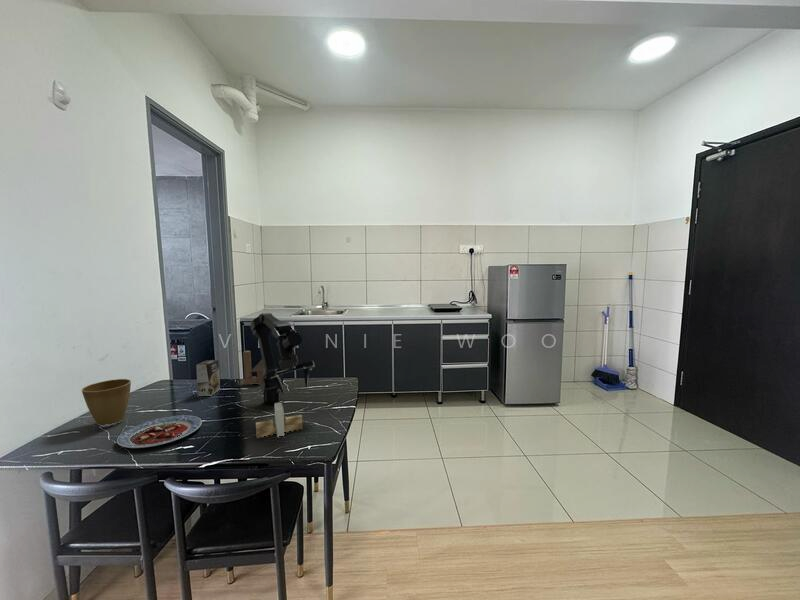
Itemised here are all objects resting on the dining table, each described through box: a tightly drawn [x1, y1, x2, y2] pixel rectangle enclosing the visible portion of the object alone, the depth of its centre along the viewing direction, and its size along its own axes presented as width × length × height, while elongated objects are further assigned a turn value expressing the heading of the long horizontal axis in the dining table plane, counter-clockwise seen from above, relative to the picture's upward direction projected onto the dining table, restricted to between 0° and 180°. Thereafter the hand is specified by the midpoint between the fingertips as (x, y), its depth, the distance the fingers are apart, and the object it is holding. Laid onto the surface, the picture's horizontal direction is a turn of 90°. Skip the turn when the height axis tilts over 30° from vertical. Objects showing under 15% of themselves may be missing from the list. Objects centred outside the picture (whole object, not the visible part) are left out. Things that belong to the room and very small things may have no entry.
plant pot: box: [81, 378, 132, 425], centre depth 138 cm, size 15×15×16 cm
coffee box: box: [195, 359, 221, 397], centre depth 171 cm, size 9×6×16 cm
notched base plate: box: [255, 414, 304, 439], centre depth 128 cm, size 16×2×5 cm, turn 115°
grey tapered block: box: [274, 401, 286, 438], centre depth 128 cm, size 8×2×10 cm, turn 24°
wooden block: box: [242, 350, 264, 385], centre depth 185 cm, size 4×11×18 cm, turn 95°
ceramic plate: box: [116, 414, 203, 449], centre depth 128 cm, size 26×26×3 cm
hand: (295, 390), depth 139 cm, fingers open, 9 cm apart
